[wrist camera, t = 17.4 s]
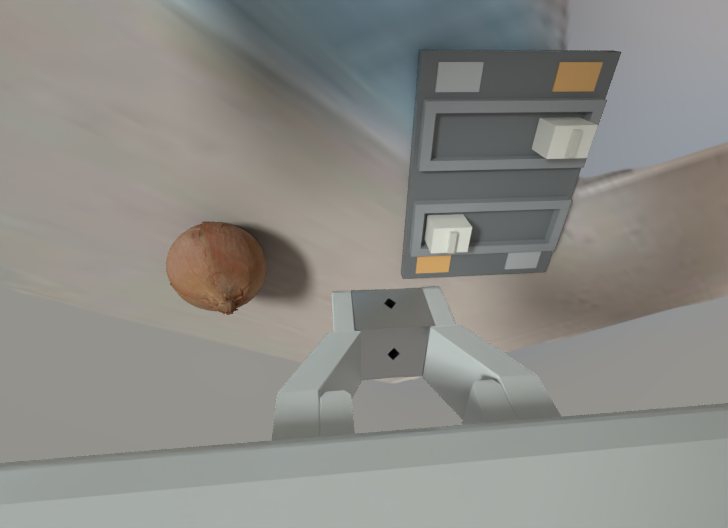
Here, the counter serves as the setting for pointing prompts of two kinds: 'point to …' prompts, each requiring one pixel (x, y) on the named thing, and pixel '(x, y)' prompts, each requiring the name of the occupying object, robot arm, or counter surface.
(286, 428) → the robot arm
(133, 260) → the counter surface
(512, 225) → the switch bank
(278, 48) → the counter surface
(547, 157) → the tab
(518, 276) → the counter surface
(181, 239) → the onion
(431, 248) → the tab
